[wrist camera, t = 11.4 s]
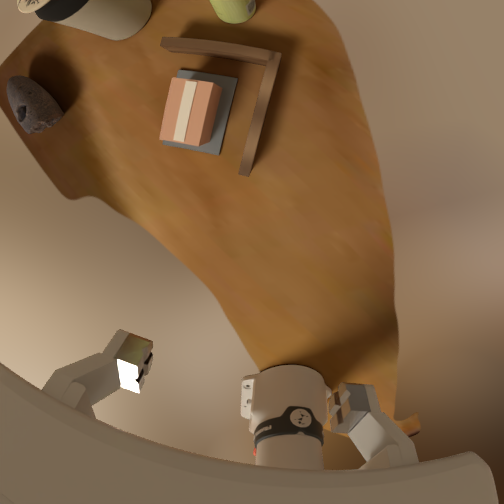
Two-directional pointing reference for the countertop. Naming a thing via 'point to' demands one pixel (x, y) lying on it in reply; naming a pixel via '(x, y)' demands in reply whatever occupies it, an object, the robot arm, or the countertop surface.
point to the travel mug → (93, 15)
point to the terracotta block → (190, 111)
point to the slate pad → (221, 115)
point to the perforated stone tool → (32, 104)
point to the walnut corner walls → (240, 54)
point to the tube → (234, 10)
